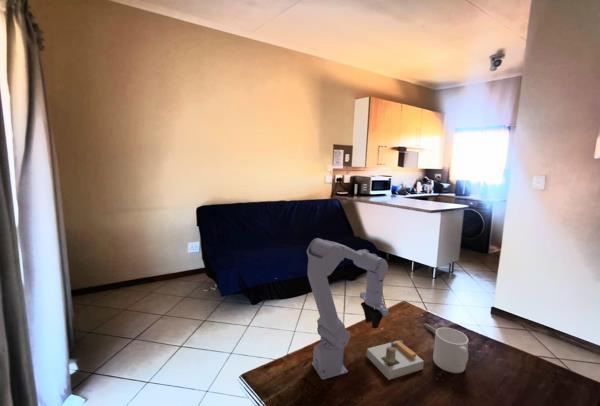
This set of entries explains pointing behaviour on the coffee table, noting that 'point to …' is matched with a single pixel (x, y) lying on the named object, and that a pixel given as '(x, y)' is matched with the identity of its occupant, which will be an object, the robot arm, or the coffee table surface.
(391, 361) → the peg
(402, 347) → the latch
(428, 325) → the caliper
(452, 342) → the mug
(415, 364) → the white flat block
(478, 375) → the coffee table surface
